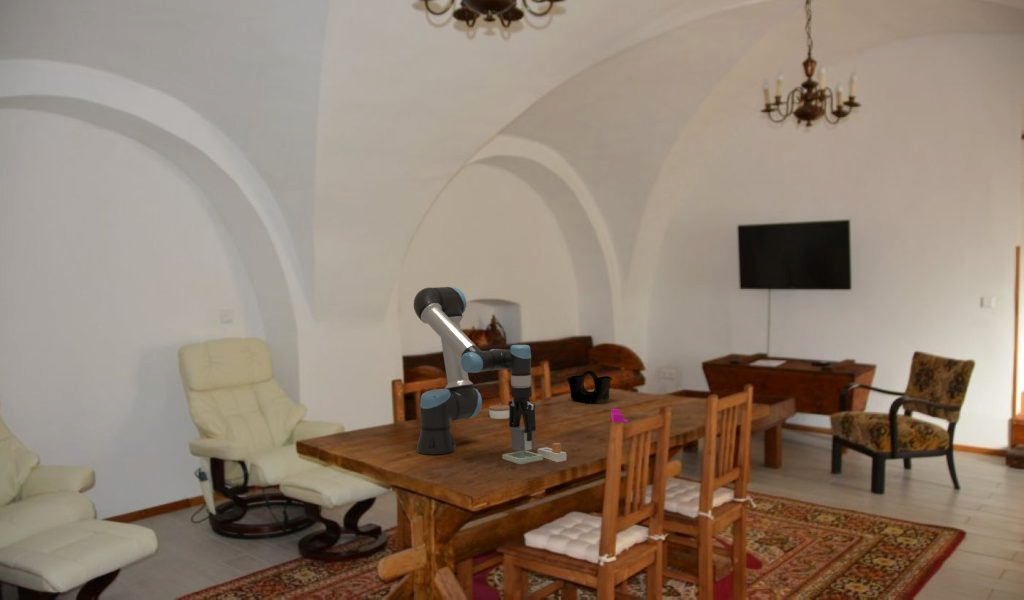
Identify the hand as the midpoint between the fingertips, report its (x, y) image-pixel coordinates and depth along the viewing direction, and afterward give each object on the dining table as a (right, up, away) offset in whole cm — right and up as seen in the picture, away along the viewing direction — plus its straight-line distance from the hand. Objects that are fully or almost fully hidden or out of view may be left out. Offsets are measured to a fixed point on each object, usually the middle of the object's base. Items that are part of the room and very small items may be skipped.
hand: (522, 448), depth 291 cm
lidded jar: (-9, -3, +78) cm, 79 cm away
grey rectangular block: (0, 0, 0) cm, 0 cm away
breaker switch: (+13, -1, 0) cm, 13 cm away
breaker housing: (+11, -4, +2) cm, 12 cm away
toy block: (+45, -3, +62) cm, 76 cm away
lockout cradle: (0, -4, 0) cm, 4 cm away
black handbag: (+36, -2, +114) cm, 120 cm away
